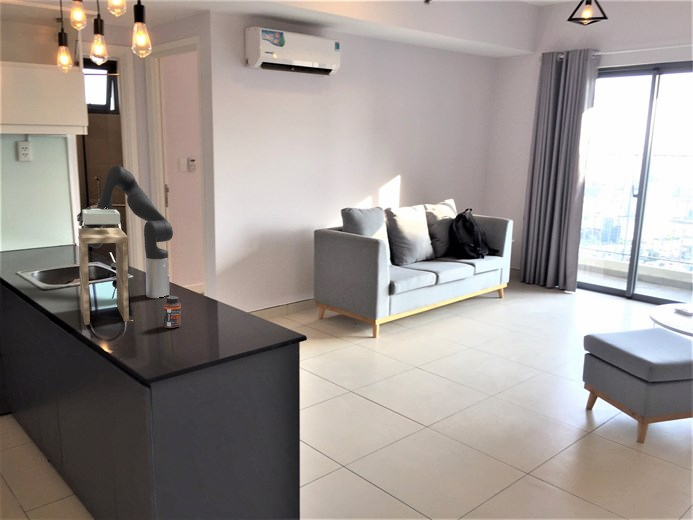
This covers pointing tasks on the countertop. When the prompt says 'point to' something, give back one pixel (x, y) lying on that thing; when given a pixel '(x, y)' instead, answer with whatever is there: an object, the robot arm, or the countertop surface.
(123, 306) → the oak shelf
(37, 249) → the countertop surface
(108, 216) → the tray
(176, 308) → the supplement bottle
